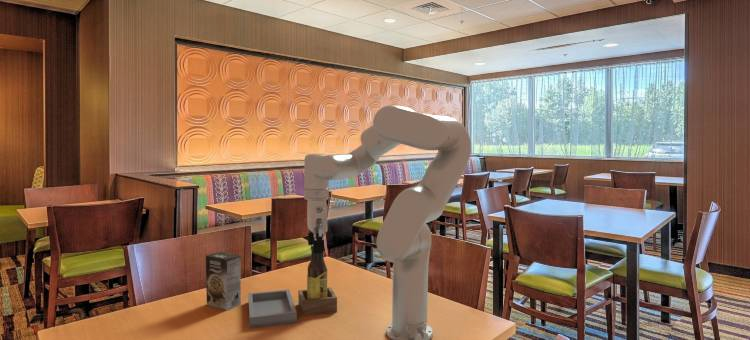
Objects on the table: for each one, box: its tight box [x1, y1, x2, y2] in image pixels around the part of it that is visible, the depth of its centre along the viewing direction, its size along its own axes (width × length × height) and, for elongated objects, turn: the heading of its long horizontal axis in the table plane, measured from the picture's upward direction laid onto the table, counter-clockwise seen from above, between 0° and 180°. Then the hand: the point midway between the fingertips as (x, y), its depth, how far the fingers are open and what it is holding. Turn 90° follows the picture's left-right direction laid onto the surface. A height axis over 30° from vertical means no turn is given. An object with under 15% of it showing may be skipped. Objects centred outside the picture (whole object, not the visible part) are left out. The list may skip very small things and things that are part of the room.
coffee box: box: [205, 251, 242, 311], centre depth 139 cm, size 9×6×16 cm
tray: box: [247, 288, 298, 329], centre depth 134 cm, size 20×13×3 cm, turn 17°
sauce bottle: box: [306, 245, 328, 299], centre depth 137 cm, size 7×6×20 cm
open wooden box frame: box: [298, 287, 338, 317], centre depth 137 cm, size 10×10×4 cm
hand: (315, 248), depth 136 cm, fingers open, 9 cm apart
